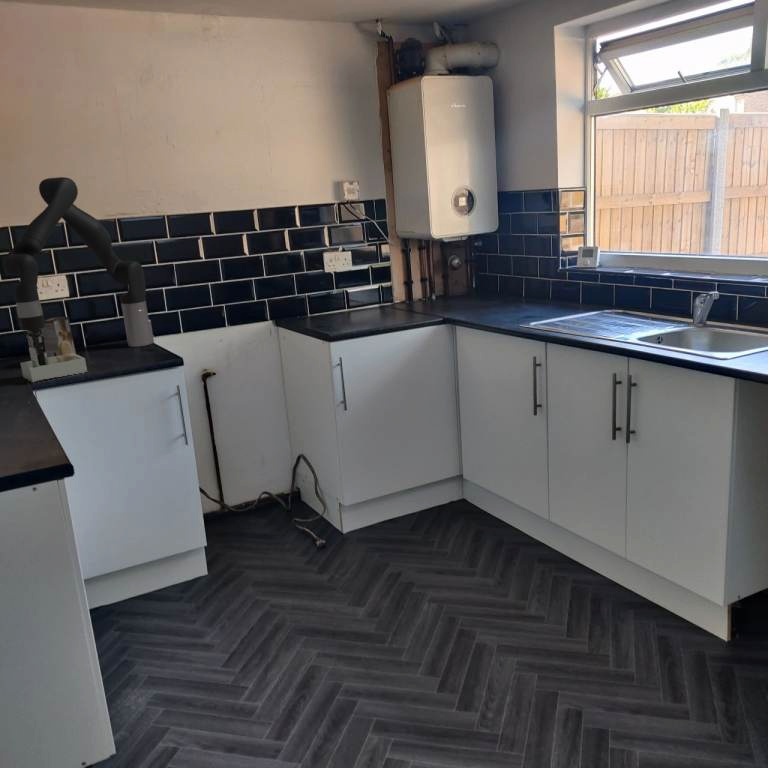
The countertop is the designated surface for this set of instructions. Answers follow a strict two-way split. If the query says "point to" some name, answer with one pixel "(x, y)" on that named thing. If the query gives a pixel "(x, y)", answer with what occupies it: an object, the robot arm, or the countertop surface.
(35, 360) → the grey metal cylinder
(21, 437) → the countertop surface
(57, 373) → the tote
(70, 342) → the coffee box
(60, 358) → the beech cube
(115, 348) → the countertop surface
